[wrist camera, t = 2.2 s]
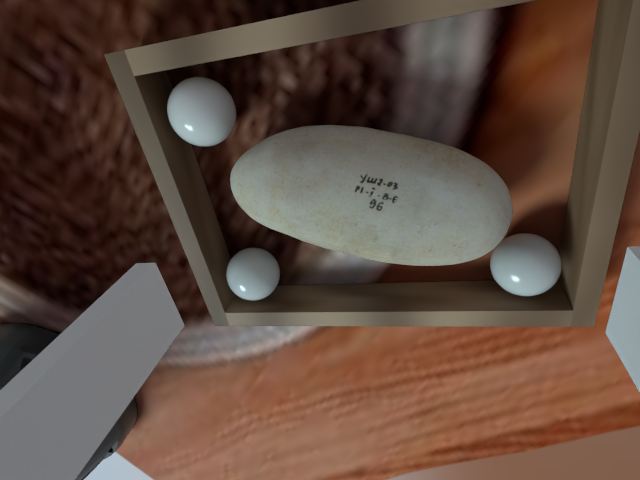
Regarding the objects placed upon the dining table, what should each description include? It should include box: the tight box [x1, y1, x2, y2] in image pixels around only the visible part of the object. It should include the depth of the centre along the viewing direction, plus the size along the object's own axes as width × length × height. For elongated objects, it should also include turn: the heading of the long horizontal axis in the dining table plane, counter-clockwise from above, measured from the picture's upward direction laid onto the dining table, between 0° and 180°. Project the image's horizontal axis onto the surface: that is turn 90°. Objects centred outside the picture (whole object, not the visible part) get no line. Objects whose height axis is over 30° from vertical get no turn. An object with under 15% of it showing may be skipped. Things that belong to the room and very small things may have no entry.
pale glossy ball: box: [226, 248, 280, 301], centre depth 22 cm, size 3×3×3 cm
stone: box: [230, 125, 513, 266], centre depth 17 cm, size 6×6×12 cm
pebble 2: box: [490, 233, 562, 296], centre depth 18 cm, size 3×3×3 cm
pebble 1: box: [167, 77, 236, 147], centre depth 17 cm, size 3×3×3 cm
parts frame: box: [104, 0, 640, 327], centre depth 18 cm, size 20×15×2 cm
